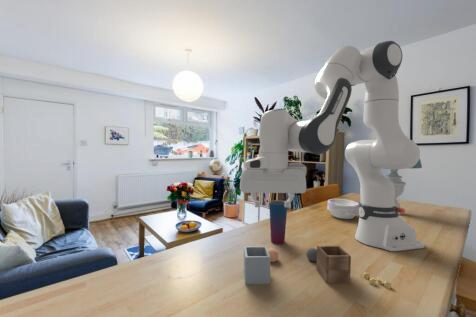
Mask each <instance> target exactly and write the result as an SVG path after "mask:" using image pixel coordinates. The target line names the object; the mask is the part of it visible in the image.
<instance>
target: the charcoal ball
mask: <svg viewBox="0 0 476 317" xmlns="http://www.w3.org/2000/svg"><path fill="white" fill-rule="evenodd" d="M306 258H307V259H308V261H311V262H313V263H314V262H316V263H317V248H315V247H310V248H308V249H307V251H306Z"/></svg>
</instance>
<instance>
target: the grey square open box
mask: <svg viewBox="0 0 476 317" xmlns="http://www.w3.org/2000/svg"><path fill="white" fill-rule="evenodd" d="M268 249H269V248H268V247H267V246H266V245H261V246H255V245H254V246H252V245H251V246H250V245H249V246H246V245H245V246H243V276H244V285H270V284H271V262H270V255H269V252H268Z"/></svg>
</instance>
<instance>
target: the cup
mask: <svg viewBox="0 0 476 317" xmlns="http://www.w3.org/2000/svg"><path fill="white" fill-rule="evenodd" d="M284 201H285V200H279V199H278V200H276V199H275V200H270V201H268V202H269V203H268V205H269V225H270V226H269V228H270V242H271V243H272V244H275V245H283V244H284V243H285V240H286V239H285V238H286V230H287V229H286V226H287V214H288V208H286V207H285V206H284V204H285V203H284Z"/></svg>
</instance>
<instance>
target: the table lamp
mask: <svg viewBox="0 0 476 317" xmlns="http://www.w3.org/2000/svg"><path fill="white" fill-rule="evenodd" d="M422 167H423V166H422V161H421V158H419V160H418V162H417V163H416V165H414V166H413V167H412V168H411V169H422ZM389 171H390V173H388V174H386V175H385V178H386V179H388V180H389V181H391V182H392V183H393V185H394V187H395V197H394V206H396V207H397V208H399V207H400V205H401V204H400V203H399V202H398V199H397V198H398V197H400V196H401V195H402V194H403V193H404V192H405V187H406V185H407V183H406V182H405V181H403V180H402V179H403V176H402V175H399V173H398V171H399V169H397V170H395V169H389ZM398 215H399V216H400V215H401V216H402V215H403V214H401V213H399V212H398Z"/></svg>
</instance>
